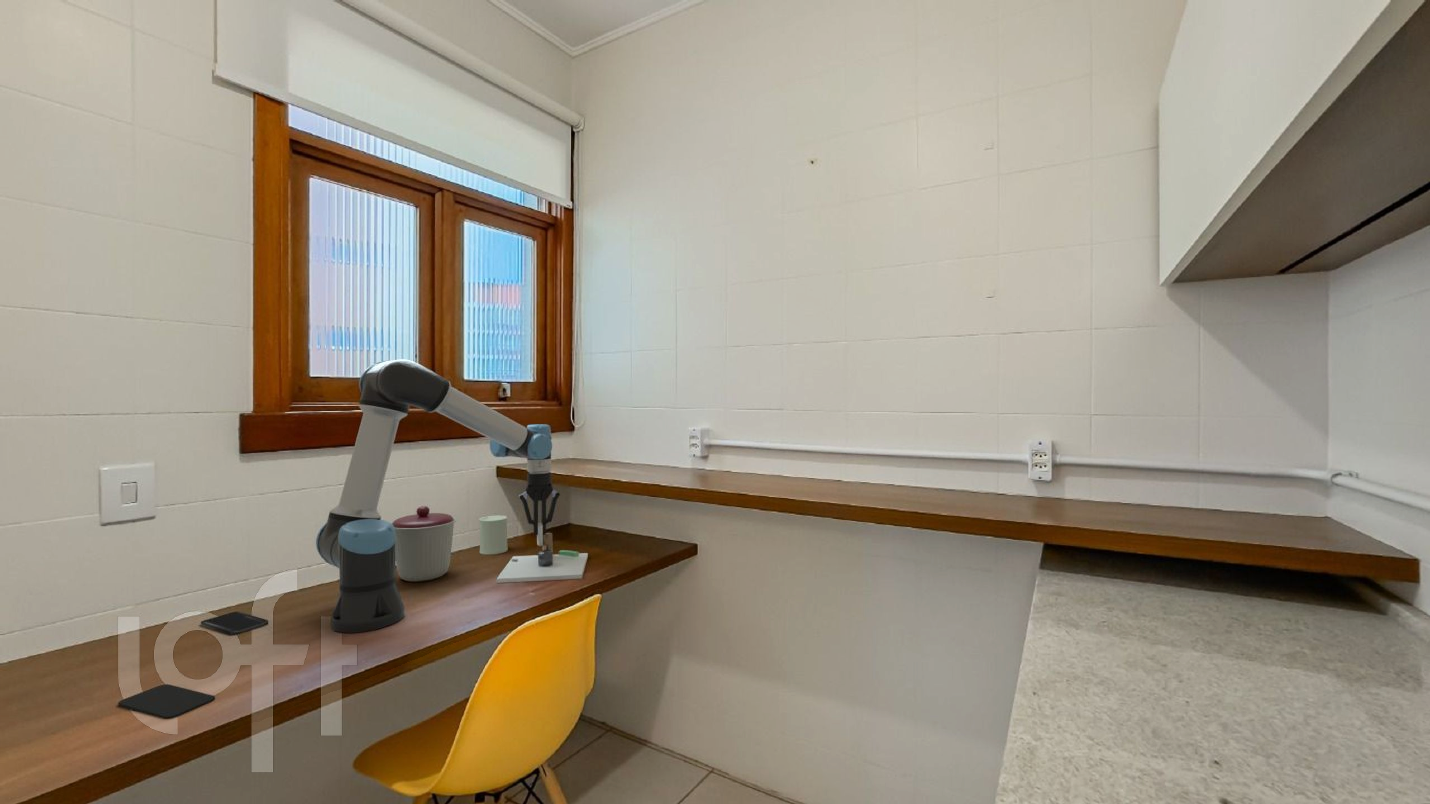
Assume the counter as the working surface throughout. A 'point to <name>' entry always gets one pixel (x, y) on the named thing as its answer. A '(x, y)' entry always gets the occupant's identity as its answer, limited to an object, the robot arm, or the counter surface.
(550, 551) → the lever
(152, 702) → the phone
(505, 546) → the can
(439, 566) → the canister
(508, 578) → the dial plate
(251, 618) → the phone
